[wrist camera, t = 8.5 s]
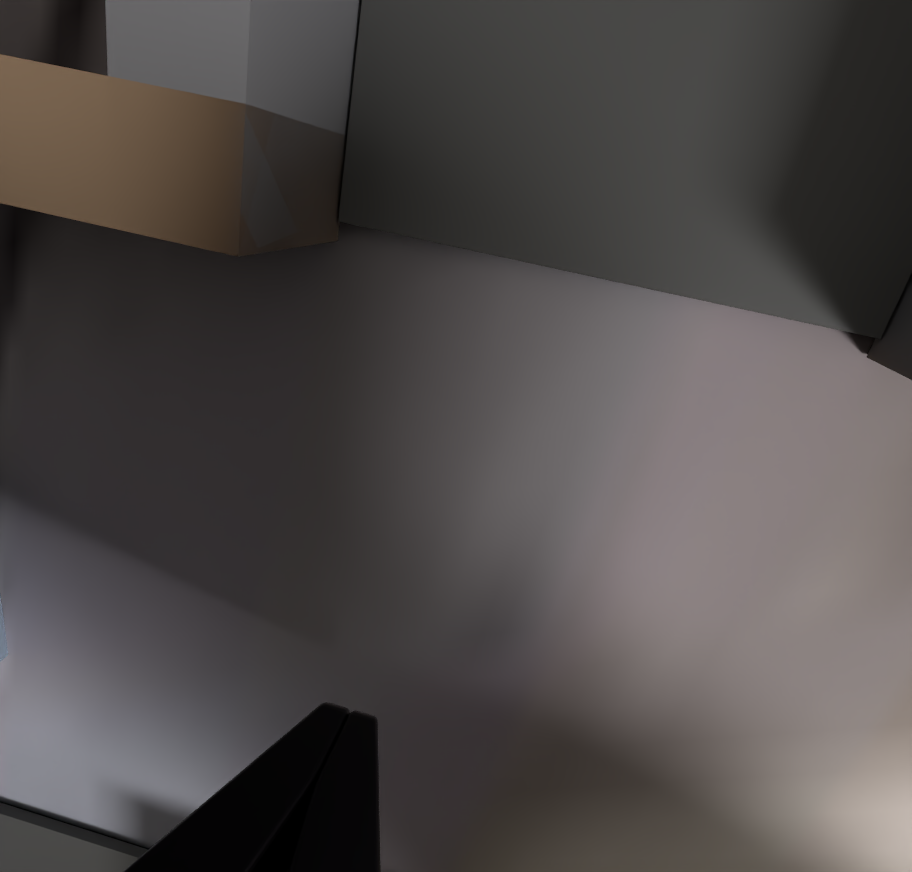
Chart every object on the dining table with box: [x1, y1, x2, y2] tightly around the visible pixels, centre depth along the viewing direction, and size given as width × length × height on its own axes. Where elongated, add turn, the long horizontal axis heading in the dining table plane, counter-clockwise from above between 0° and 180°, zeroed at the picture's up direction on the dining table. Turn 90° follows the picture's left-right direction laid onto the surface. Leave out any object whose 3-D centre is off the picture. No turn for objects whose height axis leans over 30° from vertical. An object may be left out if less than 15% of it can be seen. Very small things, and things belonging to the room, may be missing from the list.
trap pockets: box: [0, 0, 912, 872], centre depth 9 cm, size 16×27×2 cm, turn 170°
